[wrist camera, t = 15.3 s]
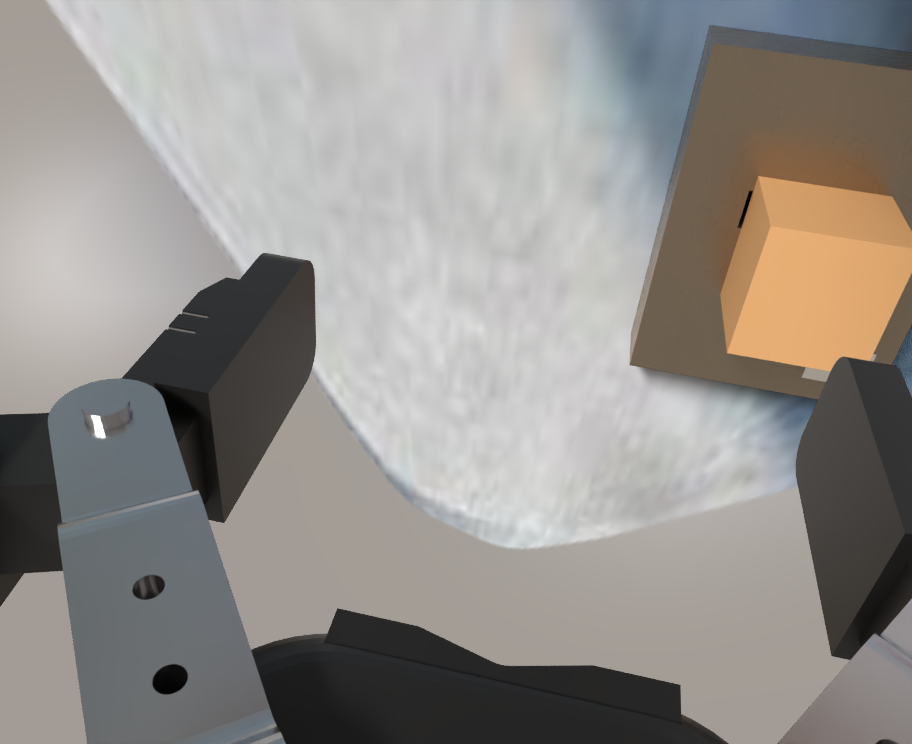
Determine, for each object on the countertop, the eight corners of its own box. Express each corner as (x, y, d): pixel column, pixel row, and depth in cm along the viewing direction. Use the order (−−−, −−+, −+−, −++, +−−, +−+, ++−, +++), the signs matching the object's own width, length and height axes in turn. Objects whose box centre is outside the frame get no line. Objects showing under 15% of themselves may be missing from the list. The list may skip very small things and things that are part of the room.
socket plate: (709, 25, 35) (714, 47, 32) (1003, 65, 34) (1035, 92, 31) (631, 333, 45) (629, 371, 42) (858, 374, 44) (872, 416, 41)
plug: (752, 154, 38) (770, 226, 32) (879, 174, 37) (922, 250, 31) (717, 269, 41) (727, 353, 35) (832, 288, 41) (862, 377, 35)
